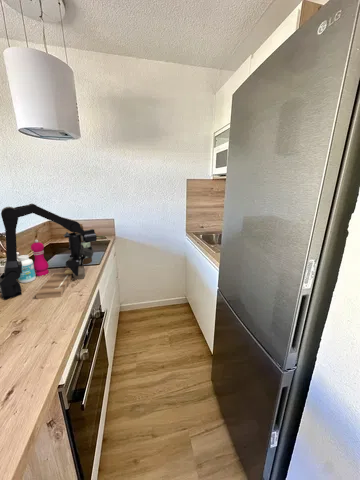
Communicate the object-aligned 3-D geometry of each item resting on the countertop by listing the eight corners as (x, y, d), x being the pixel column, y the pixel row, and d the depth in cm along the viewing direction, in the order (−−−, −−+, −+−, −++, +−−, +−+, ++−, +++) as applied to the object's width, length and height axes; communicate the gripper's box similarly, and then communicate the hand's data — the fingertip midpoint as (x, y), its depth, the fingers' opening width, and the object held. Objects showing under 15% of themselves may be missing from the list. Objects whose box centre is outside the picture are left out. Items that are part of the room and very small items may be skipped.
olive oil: (72, 262, 136) (67, 224, 129) (89, 258, 143) (84, 222, 136) (79, 266, 128) (73, 226, 122) (95, 262, 136) (91, 224, 129)
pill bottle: (16, 284, 105) (10, 259, 102) (22, 278, 112) (17, 254, 109) (33, 282, 107) (28, 257, 104) (38, 276, 114) (34, 253, 111)
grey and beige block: (83, 278, 112) (82, 268, 110) (65, 280, 110) (64, 270, 108) (85, 275, 115) (84, 265, 114) (67, 277, 113) (66, 267, 112)
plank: (61, 296, 94) (60, 291, 93) (36, 299, 92) (35, 293, 91) (74, 275, 116) (74, 271, 115) (55, 277, 114) (54, 272, 113)
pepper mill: (52, 271, 121) (47, 238, 116) (43, 276, 114) (37, 241, 109) (41, 271, 122) (35, 237, 116) (31, 276, 115) (24, 241, 109)
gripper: (88, 248, 101) (91, 278, 105) (95, 239, 119) (97, 264, 123) (63, 250, 99) (67, 280, 103) (73, 240, 116) (77, 266, 120)
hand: (79, 272), depth 112 cm, fingers open, 9 cm apart
